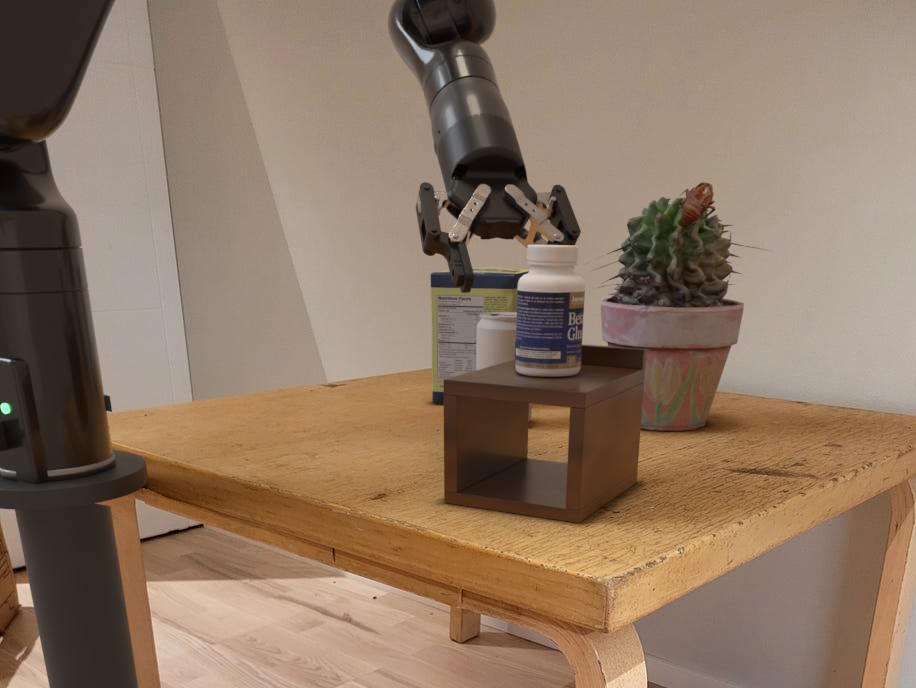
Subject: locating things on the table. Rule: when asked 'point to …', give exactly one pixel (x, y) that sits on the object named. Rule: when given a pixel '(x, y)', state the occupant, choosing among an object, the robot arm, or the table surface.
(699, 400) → the potted plant
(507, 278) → the protein box
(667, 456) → the table surface
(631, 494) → the table surface
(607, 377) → the shelf
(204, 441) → the table surface
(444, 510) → the table surface
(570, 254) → the pill bottle
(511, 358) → the beverage can
